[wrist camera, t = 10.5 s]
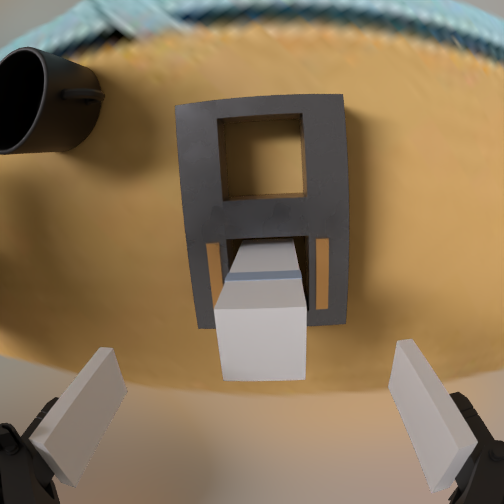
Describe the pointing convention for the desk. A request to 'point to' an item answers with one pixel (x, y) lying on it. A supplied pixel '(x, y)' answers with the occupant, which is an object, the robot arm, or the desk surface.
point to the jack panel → (267, 199)
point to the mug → (45, 102)
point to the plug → (263, 314)
